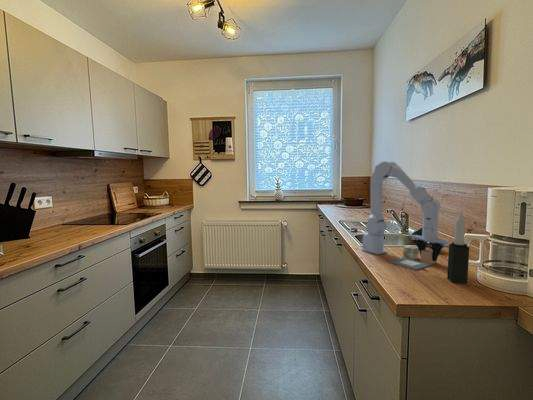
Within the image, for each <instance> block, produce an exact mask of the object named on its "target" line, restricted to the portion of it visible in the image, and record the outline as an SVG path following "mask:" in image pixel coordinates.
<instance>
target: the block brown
mask: <svg viewBox="0 0 533 400" xmlns="http://www.w3.org/2000/svg"><path fill="white" fill-rule="evenodd" d="M437 261H438V259H437V260H436V261H433V250H432V249H430V248H429V249H428V248H426V249H425V250H421V256H420V261H419V262H423V263H427V264H431V265H434V264H437Z"/></svg>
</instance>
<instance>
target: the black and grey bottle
mask: <svg viewBox="0 0 533 400" xmlns="http://www.w3.org/2000/svg"><path fill="white" fill-rule="evenodd" d="M454 222H455V223H454V241H453V242H451V243H449V246H448V259H447V278H446V279H447V280H449V281H450V283H453V284H462V285H465V284H466V285H467V284H468V276H469V261H470V247H469V246H468V244H466V243H465V237H466V236H465V235H466V233H465V232H466V220H465V219H464V216H463V211H459V213H458V217H457V218H456V220H455V221H454Z"/></svg>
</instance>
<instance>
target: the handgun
mask: <svg viewBox="0 0 533 400" xmlns="http://www.w3.org/2000/svg"><path fill="white" fill-rule="evenodd" d="M422 228H423V226H422V227H420V228H419V229H418V230H415V231H414V232H412V233H411V236H412V235H419V236H422ZM412 242H414V243H416V242H417V240H412ZM433 244H434V243H429V242H428V245H429V246H430V247H431V249H432V245H433Z"/></svg>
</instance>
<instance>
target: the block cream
mask: <svg viewBox="0 0 533 400" xmlns="http://www.w3.org/2000/svg"><path fill="white" fill-rule="evenodd" d="M402 250H403V252H402V254H403V256H402V258H408V259H412V260H418V259H419V256H420V255H419V254H420V252H419V249H418V247H417V246H414V245H410V244H409V245H405V246H403V249H402Z"/></svg>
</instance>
